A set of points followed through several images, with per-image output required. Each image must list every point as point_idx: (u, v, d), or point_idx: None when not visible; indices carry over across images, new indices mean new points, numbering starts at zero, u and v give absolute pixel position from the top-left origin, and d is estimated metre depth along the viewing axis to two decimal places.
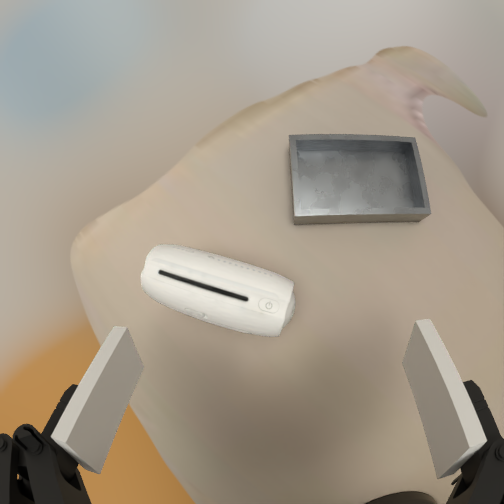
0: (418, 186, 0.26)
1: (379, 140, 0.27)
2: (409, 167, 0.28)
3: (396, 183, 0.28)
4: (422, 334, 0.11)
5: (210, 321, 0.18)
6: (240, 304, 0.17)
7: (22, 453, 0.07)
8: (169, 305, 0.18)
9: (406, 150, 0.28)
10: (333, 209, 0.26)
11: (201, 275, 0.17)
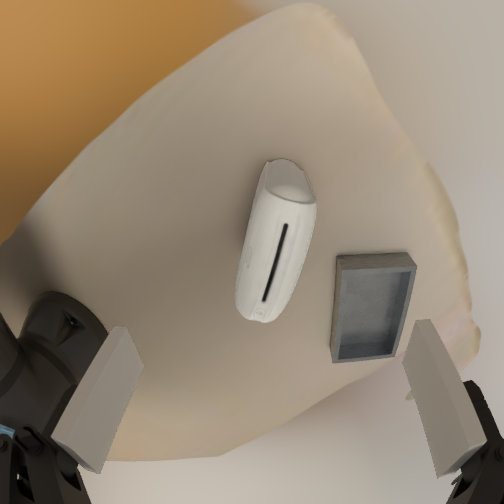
0: (355, 354, 0.35)
1: (397, 332, 0.32)
2: (373, 345, 0.35)
3: (362, 334, 0.35)
4: (422, 334, 0.11)
5: (242, 264, 0.20)
6: (258, 299, 0.20)
7: (22, 453, 0.07)
8: (253, 227, 0.19)
9: (387, 345, 0.35)
10: (344, 299, 0.30)
11: (282, 272, 0.18)
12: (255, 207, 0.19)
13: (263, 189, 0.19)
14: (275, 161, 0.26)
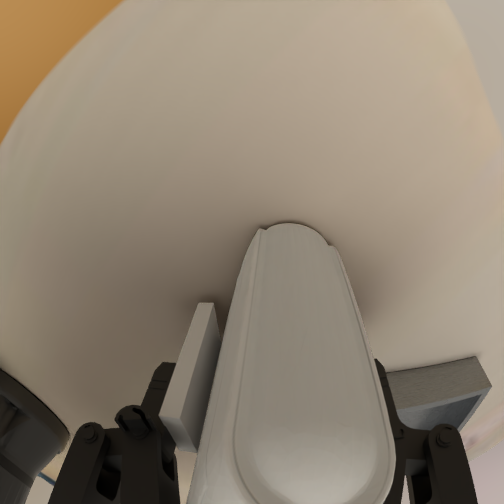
0: None
1: None
2: None
3: None
4: None
5: None
6: None
7: (113, 449, 0.08)
8: None
9: None
10: None
11: None
12: (200, 484, 0.05)
13: (222, 454, 0.04)
14: (275, 232, 0.12)
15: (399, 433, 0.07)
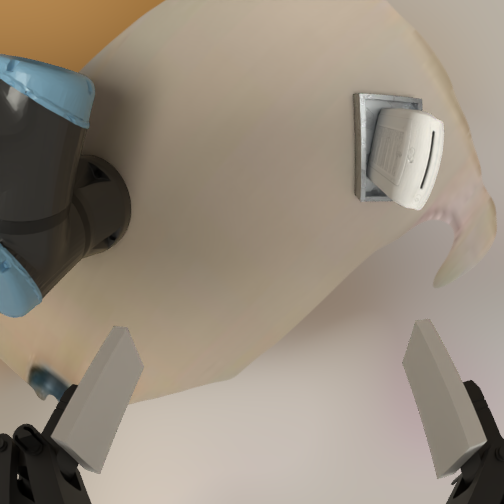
0: (381, 195, 0.35)
1: None
2: None
3: None
4: (422, 334, 0.11)
5: (405, 162, 0.25)
6: (419, 185, 0.24)
7: (22, 453, 0.07)
8: (412, 134, 0.23)
9: None
10: (364, 122, 0.31)
11: (434, 162, 0.23)
12: (410, 123, 0.23)
13: (412, 112, 0.23)
14: (388, 108, 0.31)
15: None
